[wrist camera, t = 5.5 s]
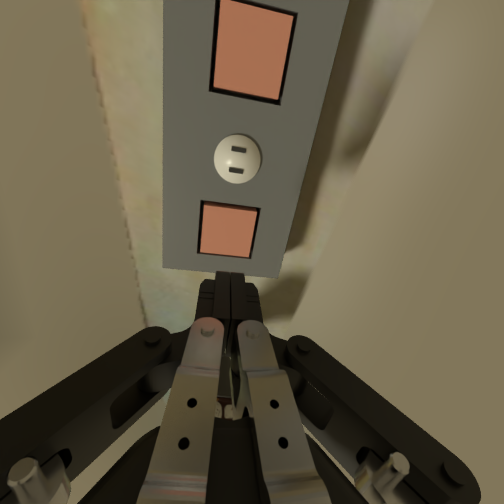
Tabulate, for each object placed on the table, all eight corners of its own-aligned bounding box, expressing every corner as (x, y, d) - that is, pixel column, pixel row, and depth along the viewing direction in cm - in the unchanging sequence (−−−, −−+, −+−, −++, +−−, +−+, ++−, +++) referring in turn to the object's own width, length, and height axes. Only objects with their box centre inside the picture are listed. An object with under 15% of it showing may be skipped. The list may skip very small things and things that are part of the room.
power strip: (178, -155, 13) (162, -241, 10) (354, -95, 15) (391, -154, 12) (170, 248, 25) (161, 269, 21) (272, 258, 26) (278, 280, 23)
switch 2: (206, 195, 21) (204, 205, 19) (254, 201, 22) (256, 212, 20) (202, 238, 23) (200, 252, 21) (246, 243, 24) (248, 257, 21)
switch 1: (221, 13, 16) (220, -3, 14) (284, 29, 16) (293, 16, 14) (215, 89, 18) (213, 86, 15) (271, 100, 18) (277, 99, 16)
